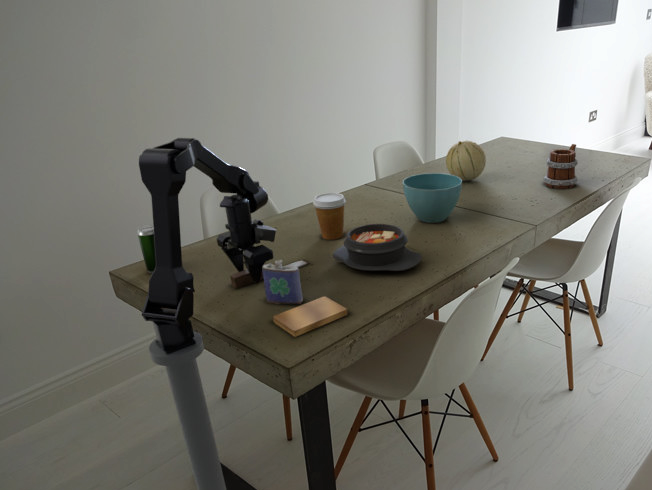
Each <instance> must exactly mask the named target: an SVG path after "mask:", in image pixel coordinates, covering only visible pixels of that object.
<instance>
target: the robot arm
mask: <svg viewBox="0 0 652 490" xmlns="http://www.w3.org/2000/svg"><path fill="white" fill-rule="evenodd" d="M138 168H139V172H140V178H141V182H142V183H143V186H144V187H145V188H146V189H147V191H148V192H149V194H150V198H151V210H152V213H151V214H152V225H153V228H154V242H155V257H156V268H155V270H154V272H153V274H152V273H151V275H150V276H149V277H150V278H149V279H148V291H147V292H148V293H147V296H146V298H145V302H144V305H143V309H142V311H141V317H142V318H143V320H144V321H145V322H152V325H153V330H154V333H155V337H156V339H157V340H156V341H155V343H156V344H157V345H158V346H159V347H160V348H161V349H162V350H163V351H164V352H165V354H170V353H173V352H175V351H178V350H180V349H183V348H186V347H188V346H191V345H193V344H196V341H195V340H194V339H193V337H194V332H193V331H194V329H193V324H192V320H191V319H190V318H191V317H193V316H194V305H195V304H194V298H195V297H194V296H195V295H194V293H195V292H196V290H195V286H194V279H195V278H194V274H193V272H187V270H186V269H185V268H184V265H183V255H182V239H181V221H180V203H179V195H180V193H181V191H182V189H183V187H184V185H185V184H186V181H187V171H189V170H191V169H192V168H195V169H197V170H198V171H200V172H201V173H203V174H204V175H205V176H207V177H209V178H210V179H211V183H212V184H211V185H212V186H213V187H214V188H215V189H216V190H217V191H218V192H219V193H222V194H232V195H230V196H229V195H224V196H223V199H222V200H221V201H220V203H219V207H220V208H224V211H225V215H226V220H227V223H225V224H224V227H225V229H226V230H228V231H227V232H222V233H219V234H218V236H217V237H216V242H217V246H218V247H220V249H221V251H222V252H223V253H224V254H225V256H226V257H227V258H228V259H229V261H230V262H231V264H232V265H233V266H234V268H235V270H236V271H237V273H238V272H241V271H244V270H245V267H246V270H247V269H248V271H249V273H250V275H251V277H252V278H253V280H254V283H255V284H259V283H261V280H260V279H261V273H262V267H263V265H265V264H266V262H269V261H270V260H271V261H272V260H273V259H274V251H273V249H271V248H269V247H267V246H266V245H264V244H261V241H263V242H264V241H265V242H266V241H267V242H270V243H274V242H275V239H276V234H277V229H275V227H272V226H269V225H267V224H264V221H263V220H261V219H254V220H253V219H252V218H253V217H252V214H254V213H256V212H257V211H258V210H260V209H262V208H263V207H265V206H266V205H267V203H268V202H269V194H268V193H267V191H266V189H265V188H263V187H262V186H261V185H260V182H259V181H258V180H257V181H256V180H253V179H252V177H251V175H250V174H249V172H248V171H247V169H245V168H242V167H240V166H237V165H233V164H229V163H226V162H225V161H224V160H223V159H221V158H220V157H219V156H217V155H216V154H215V153H213V152H212V151H211V150H210V149H208V148H207V147H205V146H204V145H203V144H202V142H201V141H200V140H199V139H197V138H194V137H177V138H175V139H173V140H171V141H169V142H167V143H163V144H160V145H157V146H154V147H152V148H151V147H149V148H145V149H144V150H143V151H142V153H141V154H140V155H139V157H138ZM258 244H259V245H258ZM255 245H256V246H255Z"/></svg>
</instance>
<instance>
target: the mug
mask: <svg viewBox="0 0 652 490" xmlns="http://www.w3.org/2000/svg"><path fill="white" fill-rule="evenodd" d="M576 148H577V144H575V143H572V144H571V145H570V147H569V148H568V149H567V148H557V149H552V150H550V151H549V157H548V159H547V160H546V165H547V172H546V174H545V175H544V178H543V181H544V182H545V183H544V185H545V186H546V187H548V188H553V189H557V190H558V189H559V190H561V189H562V190H564V189H572V188H573V187H575V186H576V183H577V182H578V181H579V180H578V176H576V167H577V166H578V164H579V163H578V160H577V157H576V156H577V155H576V153H577V152H576Z"/></svg>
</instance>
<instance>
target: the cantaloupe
mask: <svg viewBox="0 0 652 490" xmlns="http://www.w3.org/2000/svg"><path fill="white" fill-rule="evenodd" d="M445 164H446V168H447V170H448V172H449V174H450V175H454V176H457V177H459V178H460V179H461V180H462V182H467V181H471V180H475V179H477V178H479V176H481V174H482V173H483V172H484V169H485V168H486V164H487V159H486V154H485V151H484V149H483V148H482V147H481V146H480V145H479V144H478V143H477V142H475V141H473V140H468V139H467V140H459V141H458V142H456V143H454V144H453V145H452V146H450V148H449V150H448V151H447V153H446V157H445Z"/></svg>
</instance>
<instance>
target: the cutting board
mask: <svg viewBox="0 0 652 490" xmlns="http://www.w3.org/2000/svg"><path fill="white" fill-rule="evenodd" d="M348 312H349V311H348V308H347V307H344V306H343V305H341V304H339V303H338V302H336V301H334V300H332V299H331V298H329V297H327V296H326V295H324V296H321V297H319V298H316V299H313V300H311V301H309V302H306V303H303V304H300V305H299V306H296V307H293V308H290V309H288V310H286V311H282V312H281V313H278V314H276V315H275V314H274V315H273V316H272V320H273V324H275V325H277V326H278V327H280V328H281V329H282V330H284V331H286V332H287V333H289V334H290V335H291V336H293V337H295V338H297V337H298V336H301V335H303V334H306V333H308V332H310V331H312V330H315V329H317V328H320V327H322V326H324V325H326V324H329V323H332V322H334V321H337V320H339V319H341V318H343V317H345V316H348V315H349V313H348Z"/></svg>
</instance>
